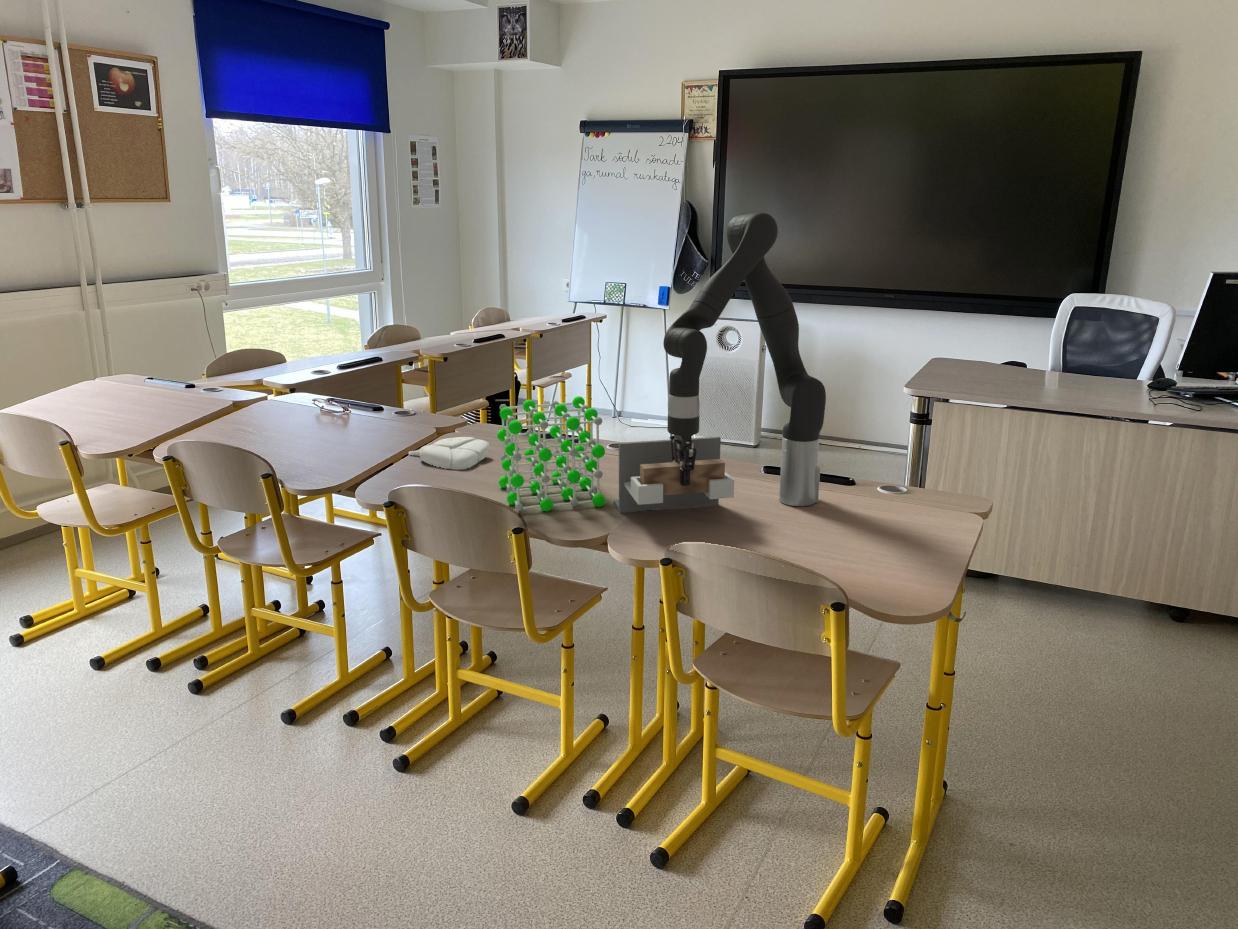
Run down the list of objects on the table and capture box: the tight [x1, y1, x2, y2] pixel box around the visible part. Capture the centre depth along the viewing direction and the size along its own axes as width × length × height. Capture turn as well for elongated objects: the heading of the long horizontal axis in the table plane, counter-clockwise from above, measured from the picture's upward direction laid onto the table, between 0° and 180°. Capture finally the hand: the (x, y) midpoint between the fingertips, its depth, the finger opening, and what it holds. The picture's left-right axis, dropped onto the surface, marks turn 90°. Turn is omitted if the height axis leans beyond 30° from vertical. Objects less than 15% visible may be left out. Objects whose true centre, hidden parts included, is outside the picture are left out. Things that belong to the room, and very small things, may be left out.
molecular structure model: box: [496, 395, 606, 512], centre depth 239 cm, size 24×25×24 cm
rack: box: [613, 436, 735, 514], centre depth 227 cm, size 26×21×18 cm
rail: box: [640, 458, 726, 496], centre depth 220 cm, size 20×4×7 cm, turn 103°
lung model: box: [408, 436, 491, 471], centre depth 275 cm, size 7×17×25 cm
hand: (682, 482), depth 220 cm, fingers open, 4 cm apart
